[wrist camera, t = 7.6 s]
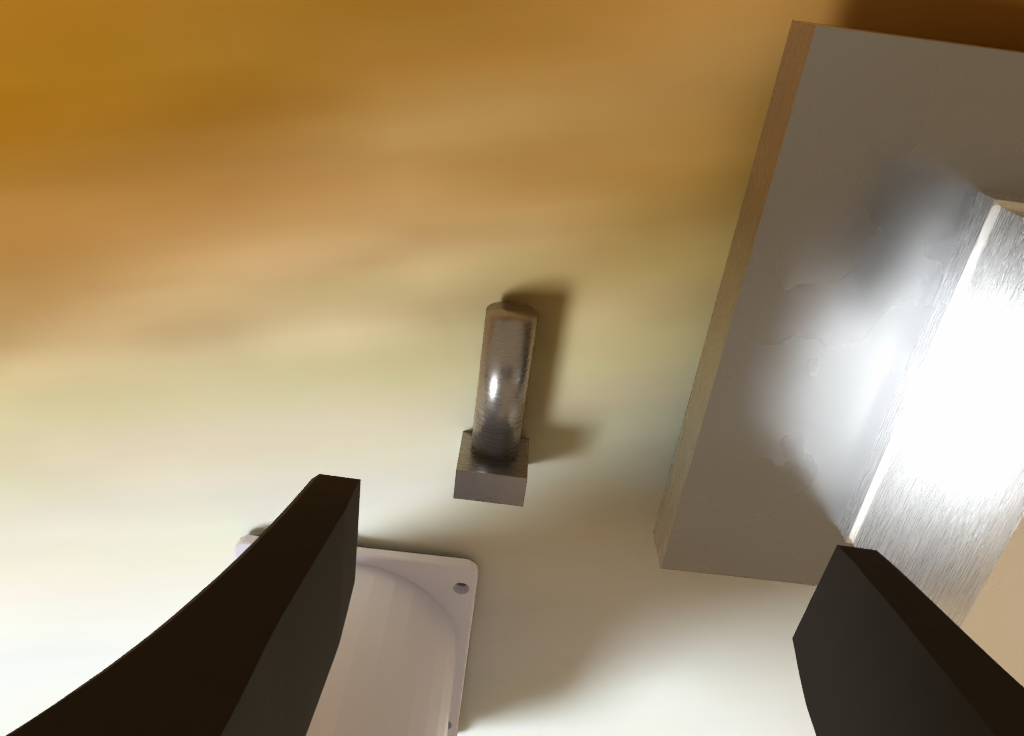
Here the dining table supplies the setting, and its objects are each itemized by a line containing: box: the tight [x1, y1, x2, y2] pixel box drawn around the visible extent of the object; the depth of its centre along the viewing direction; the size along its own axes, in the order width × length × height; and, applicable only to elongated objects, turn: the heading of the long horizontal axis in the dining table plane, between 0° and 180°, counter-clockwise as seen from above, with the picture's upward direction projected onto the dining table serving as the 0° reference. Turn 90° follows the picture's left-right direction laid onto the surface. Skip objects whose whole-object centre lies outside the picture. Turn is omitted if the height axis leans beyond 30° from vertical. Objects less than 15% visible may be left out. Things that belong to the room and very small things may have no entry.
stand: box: [653, 20, 1024, 586], centre depth 19 cm, size 14×14×3 cm
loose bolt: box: [453, 302, 538, 506], centre depth 21 cm, size 5×2×2 cm, turn 173°
